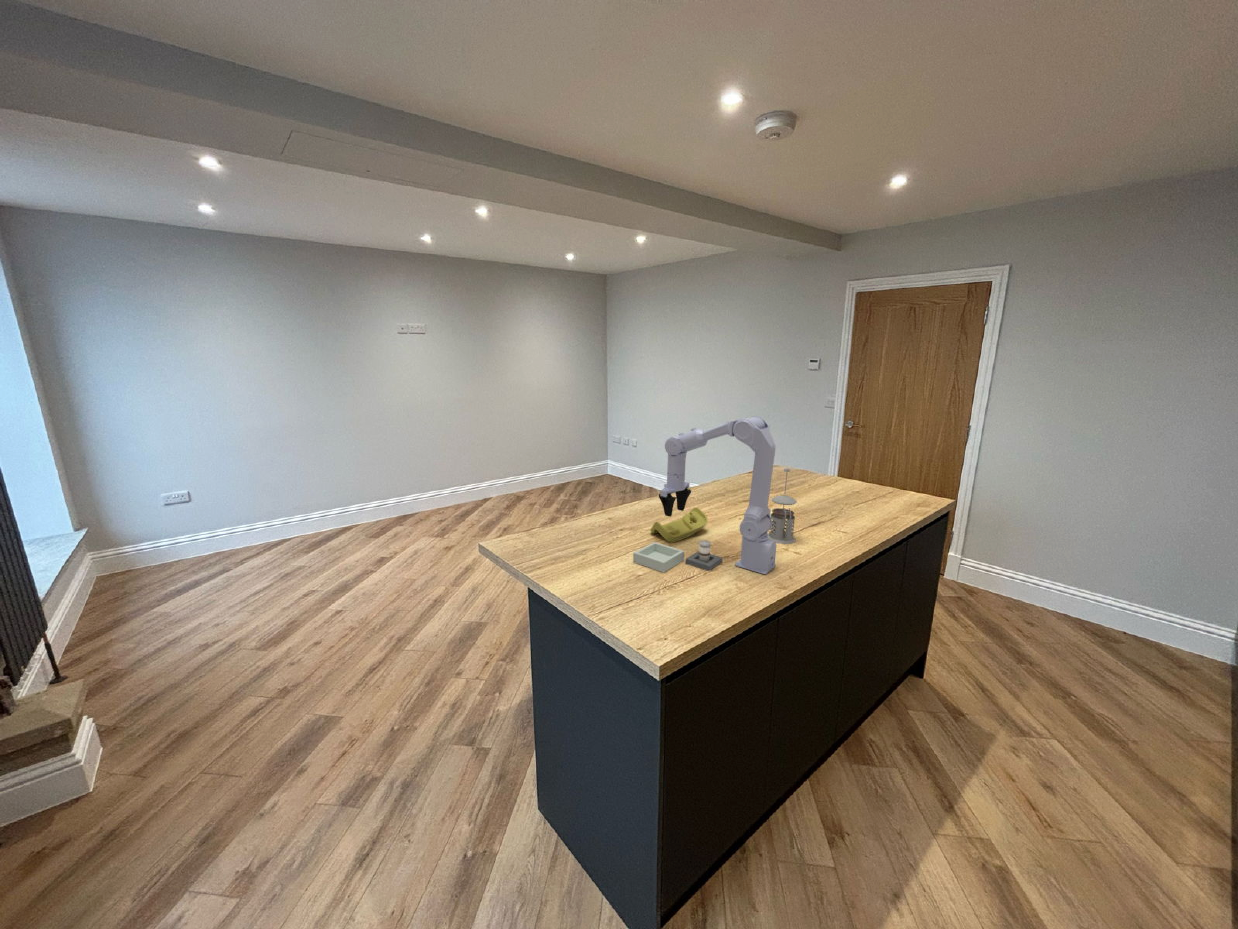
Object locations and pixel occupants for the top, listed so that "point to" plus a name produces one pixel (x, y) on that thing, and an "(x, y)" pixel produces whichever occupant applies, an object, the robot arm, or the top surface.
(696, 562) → the gray square frame
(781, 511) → the french press
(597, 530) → the top surface
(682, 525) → the plastic component
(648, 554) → the parts tray
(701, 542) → the cylinder
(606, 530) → the top surface
